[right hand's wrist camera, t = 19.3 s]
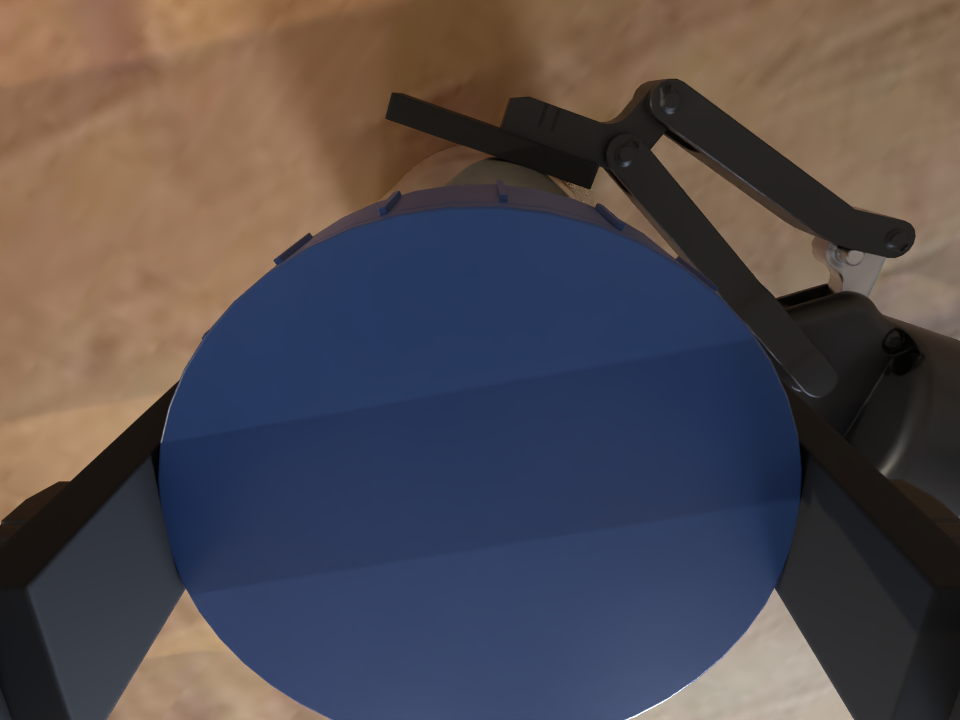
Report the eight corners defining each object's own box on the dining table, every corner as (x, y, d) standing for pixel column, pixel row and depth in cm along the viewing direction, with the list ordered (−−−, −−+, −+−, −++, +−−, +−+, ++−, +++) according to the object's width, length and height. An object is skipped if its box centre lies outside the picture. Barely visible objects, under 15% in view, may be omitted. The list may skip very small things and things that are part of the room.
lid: (177, 586, 14) (117, 682, 11) (268, 91, 10) (206, 88, 8) (620, 693, 15) (645, 800, 13) (846, 285, 11) (938, 331, 9)
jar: (620, 282, 29) (843, 570, 11) (451, 383, 31) (412, 766, 13) (513, 97, 26) (586, 90, 8) (333, 221, 28) (79, 430, 10)
